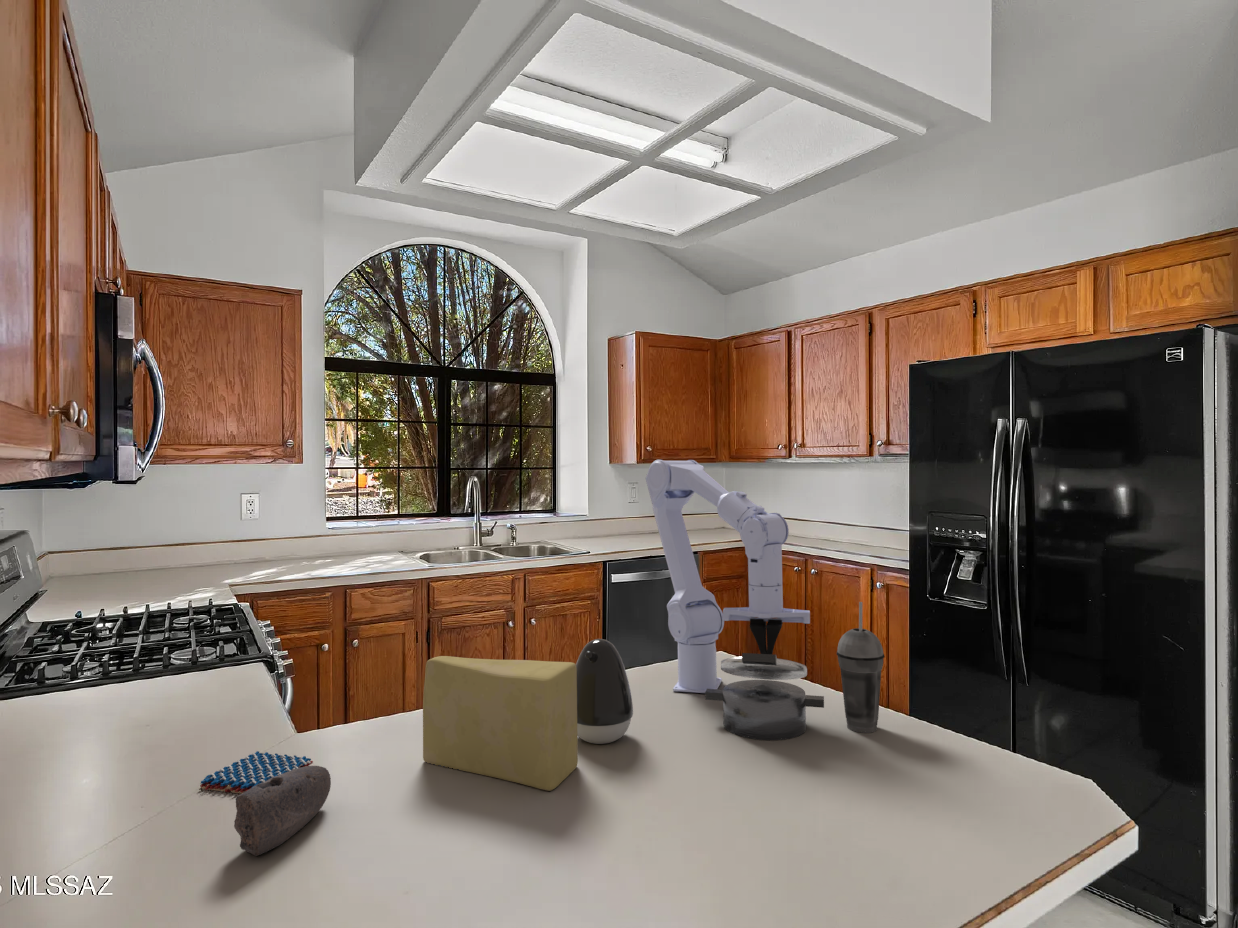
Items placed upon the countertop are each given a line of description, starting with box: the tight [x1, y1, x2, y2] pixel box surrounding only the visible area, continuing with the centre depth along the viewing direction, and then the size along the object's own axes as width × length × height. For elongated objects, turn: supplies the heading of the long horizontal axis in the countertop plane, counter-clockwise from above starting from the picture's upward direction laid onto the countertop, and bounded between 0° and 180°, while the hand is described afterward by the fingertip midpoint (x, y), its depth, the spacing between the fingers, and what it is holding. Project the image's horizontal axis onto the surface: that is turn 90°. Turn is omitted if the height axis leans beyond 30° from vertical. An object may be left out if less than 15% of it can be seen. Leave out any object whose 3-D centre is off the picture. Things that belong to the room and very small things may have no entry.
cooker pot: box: [704, 679, 825, 741], centre depth 115 cm, size 13×19×6 cm
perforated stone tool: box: [233, 765, 332, 857], centre depth 82 cm, size 15×5×7 cm, turn 165°
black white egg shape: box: [575, 638, 634, 745], centre depth 111 cm, size 10×10×15 cm
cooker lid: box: [720, 652, 808, 681], centre depth 115 cm, size 15×14×2 cm
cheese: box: [422, 655, 579, 792], centre depth 99 cm, size 22×10×15 cm, turn 71°
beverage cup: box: [836, 601, 886, 734], centre depth 114 cm, size 7×7×20 cm
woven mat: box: [199, 750, 314, 794], centre depth 98 cm, size 10×11×2 cm
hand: (767, 663), depth 123 cm, fingers closed
